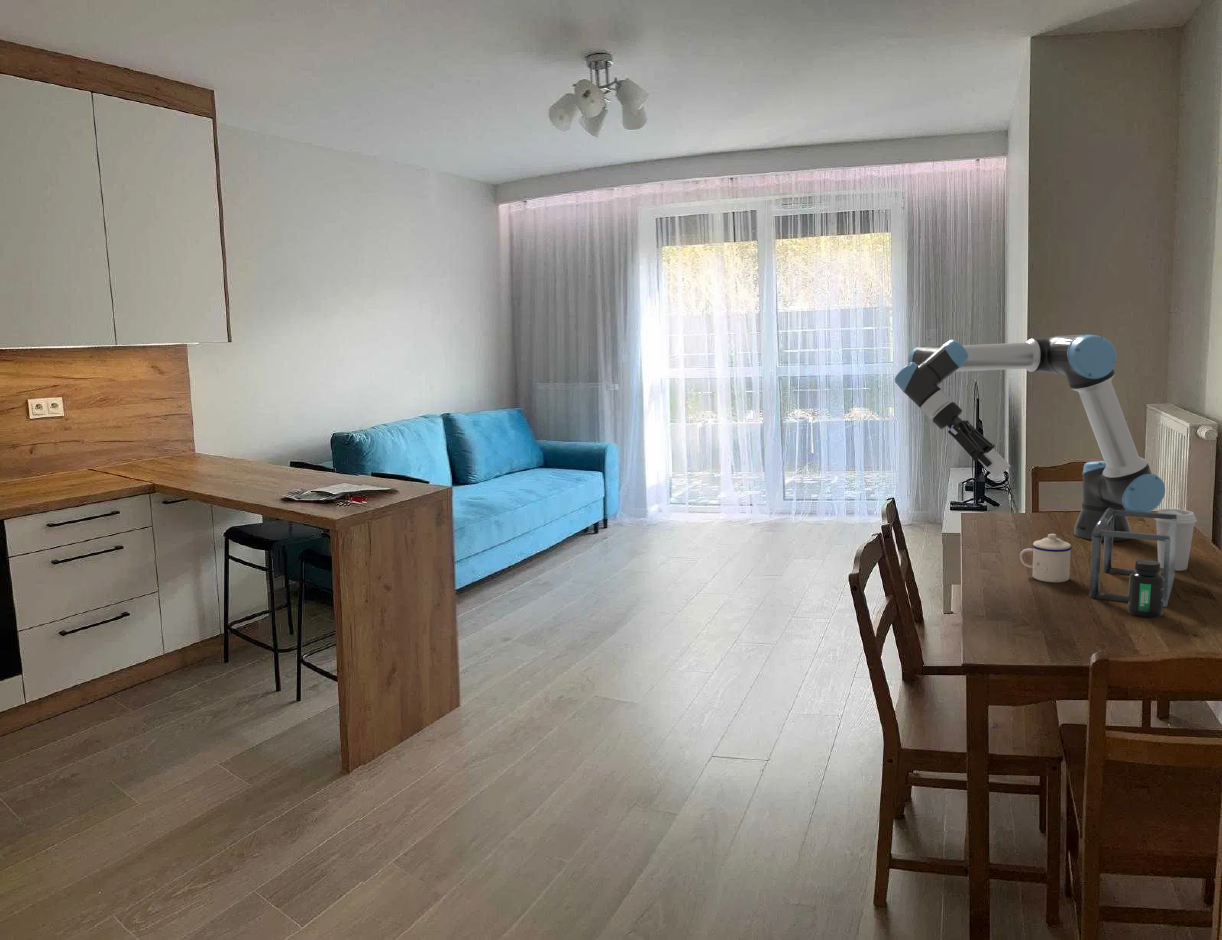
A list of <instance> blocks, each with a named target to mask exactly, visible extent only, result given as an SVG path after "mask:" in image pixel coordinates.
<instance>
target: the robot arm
mask: <svg viewBox="0 0 1222 940" xmlns="http://www.w3.org/2000/svg"><path fill="white" fill-rule="evenodd" d="M1117 357H1118V356H1117V351H1116V348H1115V346H1114V345H1113V344H1112V343H1111V341H1110V340H1109V339H1107V338H1105V337H1103V336H1100V335H1096V334H1091V333H1090V334H1089V333H1085V334H1058V335H1055V336H1054V335H1053V336H1048V337H1047V336H1046V337H1041V338H1030V339H1027V340H1026V341H1025V342H1013V343H1012V342H1011V343H1009V342H1007V343H986V344H985V343H984V344H982V343H981V344H961V343H960V342H958V341H957V340H955V339H949V340H948V341H946V342H945V343H943V344H942V345H940V346H939V345H938V346H937V345H936V346H926V345H923V346H917V347H915V348H913V349H912V350H911V352H910V353H909V355H908V358H907V359H908V360H907V361H908V364H907V365H905V366H904V367H903V368H901V369H900V371H898V372H897V374H896V375H895V377H894V383H895V384H896V386H898V387H899V389H900V390H901V391H902V392H903V394H905V395H906V396H907V397H908V398H909V399H910V400H911V401H912V402H914V403H915V404H916V405H917V407H918V408H919V409H921V411H922V415H926V416H927V417H928V418H929V419H932V423H934V424H935V425H936V426H937V427H938V428H939V429H940V430H943V429H945V428H947V427H948V428H949V429H948V431H947V432H948V434H949V435H950V436H951V437H952V438H954V440H955V441H956V442H957V443H958V444H959V445H960V446H961V447H962V449H964V450H965V452H966V453H967V454H968V455H969V456H970V457H971V458H972V460H973V462H976V461H978V462H979V463H980V464H981V465H982V466H983V467H984V468H985V469H987V471H988V472H989V473H990V474H991V475H992V476H993V477H994V478H995V479H996V478H998V477H999V476H1000V475H1001V474H1004V472H1006V471H1007V470H1008V469H1009V468H1011V464H1010V463H1008V461H1007V460H1006V459H1005V458H1003V456H1002V455H1001V454H1000V453H999V452H997V450H995V449H994V448H995V447H996V445H995V444H994V443H991V442H990V441H989V440H988V439H987V438H986V437H985V436H984V435H983V434H982V433H981V432H980V431H978V430H977V429H976V428H975V427H974V426H973V425H972V424H971V422H970V421H969V420H968V419H966V420H963V419H962V418H961V417H960V415H961V414H962V413H963V409H961V408H960V406H959V405H958V404H957V403H956V402H953V401H952V398H951V397H949V395H948V394H947V393H946V392H945V391H944V390H943V389H942V388H941V387H939V385H940V384H941V383H942V382H944V381H945V380H946V379H948V378H949V376H951V375H952V374H954V372H973V371H974V372H975V371H999V370H1000V371H1001V370H1003V371H1004V370H1005V371H1006V370H1024V369H1025V370H1026V371H1028V372H1030V373H1033V372H1034V373H1035V372H1036V373H1037V372H1038V373H1048V374H1054V375H1060V376H1065V377H1066V380H1067V382H1068V386H1069V388H1070V389H1071V390H1072V391H1076V392H1078V395H1079V397H1080V400H1081V403H1082V406H1083V408H1084V410H1085V413H1086V416H1087V419H1088V421H1089V424H1090V428H1091V429H1092V432H1093V434H1094V435H1093V436H1094V437H1095V440H1096V442H1097V445H1098V448H1099V450H1100V452H1101V453H1100V454H1101V456H1102V458H1103V460H1094V461H1088V462H1086V463H1084V465H1083V470H1082V473H1081V474H1082V489H1081V490H1082V491H1081V511H1080V512H1079V515H1078V517H1077V520H1076V523H1075V525H1074V526H1073V527H1074V530H1073V532H1074V536H1075V537H1077V538H1082V539H1086V540H1091V541H1092V531H1093V529H1094V528H1095V526H1096V525H1097V523H1098V522H1099V520H1100V519H1101V517H1102V516H1103V514H1104V513H1105V511H1106V510H1107V509H1108V508H1113V509H1114V510H1124V511H1138V512H1152V511H1153V510H1156V509H1157V508H1158V507H1159V506H1160V505H1161V504H1162V501H1163V499H1164V498H1165V494H1166V487H1165V485H1166V484H1165V482H1164V481H1163V479H1162V478H1161V477H1159V475H1156V474H1154V473H1152V470H1151V467H1150V464H1149V463H1148V460H1147V459H1146V458H1143V457H1141V456H1139V453H1138V450H1137V448H1136V447H1137V446H1136V445H1135V443H1134V440H1133V437H1132V434H1131V431H1130V429H1129V427H1128V424H1127V420H1126V418H1125V415H1124V412H1123V409H1122V407H1121V404H1120V401H1119V399H1118V397H1117V393H1116V390H1115V387H1114V385H1113V382H1112V380H1113V379H1114V377H1115V375H1116V371H1115V370H1114V368H1115V366H1116V365H1115V363H1116V362H1117V359H1118V358H1117ZM1104 530H1105V529H1104ZM1113 531H1123V532H1132V529H1131V526H1130V522H1129V519H1128V516H1118V515H1114V530H1113ZM1130 539H1131V538H1121V537H1113V542H1120V541H1127V540H1130ZM1101 542H1104V536H1102V538H1101Z"/></svg>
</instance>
